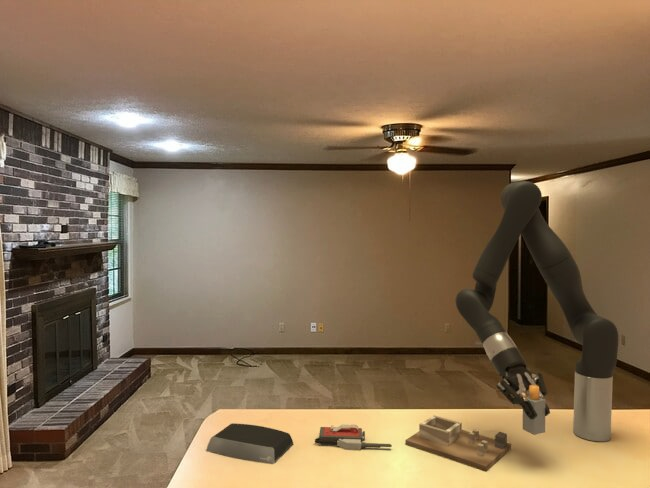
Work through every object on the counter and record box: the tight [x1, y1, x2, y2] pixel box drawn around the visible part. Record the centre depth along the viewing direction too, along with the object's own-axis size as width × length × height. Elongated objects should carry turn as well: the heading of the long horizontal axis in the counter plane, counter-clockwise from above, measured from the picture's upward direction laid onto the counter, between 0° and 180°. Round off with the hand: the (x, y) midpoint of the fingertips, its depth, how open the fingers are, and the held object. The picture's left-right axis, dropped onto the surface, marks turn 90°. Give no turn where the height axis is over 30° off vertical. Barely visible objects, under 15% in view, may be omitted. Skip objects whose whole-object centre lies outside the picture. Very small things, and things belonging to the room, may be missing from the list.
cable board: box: [404, 414, 512, 472], centre depth 133 cm, size 16×22×5 cm
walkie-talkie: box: [314, 423, 392, 451], centre depth 135 cm, size 9×4×20 cm
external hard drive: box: [205, 422, 295, 465], centre depth 132 cm, size 13×19×4 cm
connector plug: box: [522, 385, 547, 436], centre depth 123 cm, size 4×4×11 cm
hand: (540, 416), depth 122 cm, fingers closed on connector plug, 3 cm apart
